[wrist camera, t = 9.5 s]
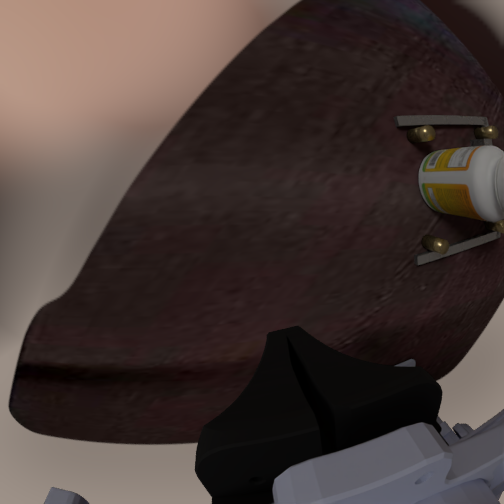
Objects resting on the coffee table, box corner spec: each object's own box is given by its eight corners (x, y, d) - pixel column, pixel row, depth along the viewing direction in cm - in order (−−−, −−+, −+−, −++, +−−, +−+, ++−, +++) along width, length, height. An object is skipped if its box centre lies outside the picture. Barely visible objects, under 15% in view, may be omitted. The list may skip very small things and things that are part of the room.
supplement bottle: (457, 214, 22) (537, 231, 12) (414, 209, 22) (500, 225, 12) (459, 157, 21) (540, 154, 11) (416, 145, 20) (502, 133, 11)
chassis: (497, 236, 23) (513, 240, 20) (414, 264, 23) (431, 271, 20) (483, 117, 20) (499, 115, 18) (393, 117, 20) (409, 111, 17)
